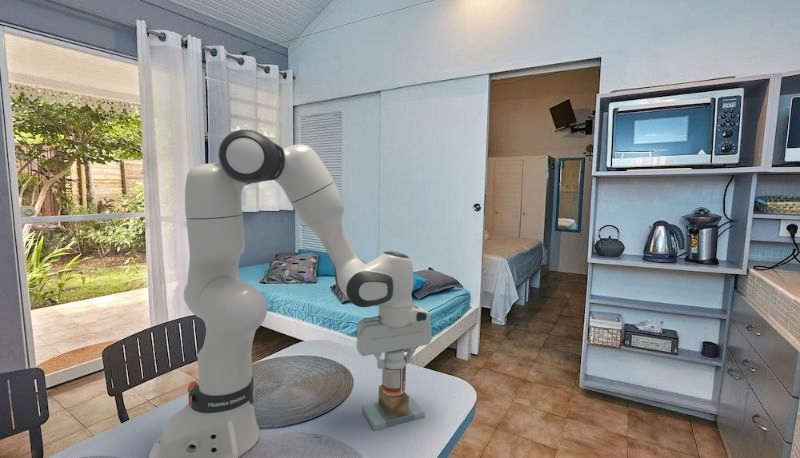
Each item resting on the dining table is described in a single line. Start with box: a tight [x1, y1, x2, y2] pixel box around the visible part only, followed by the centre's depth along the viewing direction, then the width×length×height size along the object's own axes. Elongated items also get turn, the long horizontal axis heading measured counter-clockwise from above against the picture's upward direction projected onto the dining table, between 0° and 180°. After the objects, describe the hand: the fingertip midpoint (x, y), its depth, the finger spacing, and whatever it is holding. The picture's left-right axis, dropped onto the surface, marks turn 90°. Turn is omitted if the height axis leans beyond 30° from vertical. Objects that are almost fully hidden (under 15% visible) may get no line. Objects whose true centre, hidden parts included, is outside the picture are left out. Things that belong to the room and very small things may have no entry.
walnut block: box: [378, 384, 409, 419], centre depth 98 cm, size 5×8×5 cm, turn 27°
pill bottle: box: [381, 349, 407, 396], centre depth 98 cm, size 6×6×11 cm
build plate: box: [362, 394, 425, 431], centre depth 99 cm, size 14×9×1 cm, turn 115°
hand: (394, 365), depth 97 cm, fingers closed on pill bottle, 6 cm apart
